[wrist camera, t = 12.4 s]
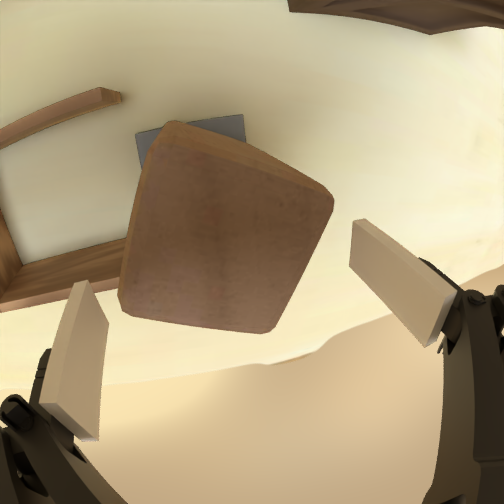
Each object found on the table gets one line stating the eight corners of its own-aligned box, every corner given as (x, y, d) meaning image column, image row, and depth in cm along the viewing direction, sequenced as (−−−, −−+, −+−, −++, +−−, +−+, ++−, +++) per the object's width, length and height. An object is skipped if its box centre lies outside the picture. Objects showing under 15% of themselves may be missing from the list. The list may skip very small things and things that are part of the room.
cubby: (-22, 152, 21) (-62, 170, 14) (119, 92, 25) (99, 87, 17) (20, 274, 31) (-4, 313, 23) (151, 241, 34) (147, 281, 27)
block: (251, 144, 31) (347, 197, 14) (222, 222, 35) (274, 341, 18) (166, 118, 27) (152, 131, 10) (141, 202, 31) (113, 320, 14)
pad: (135, 134, 28) (134, 134, 27) (241, 114, 30) (242, 114, 29) (157, 230, 34) (156, 232, 33) (252, 210, 36) (253, 212, 35)
